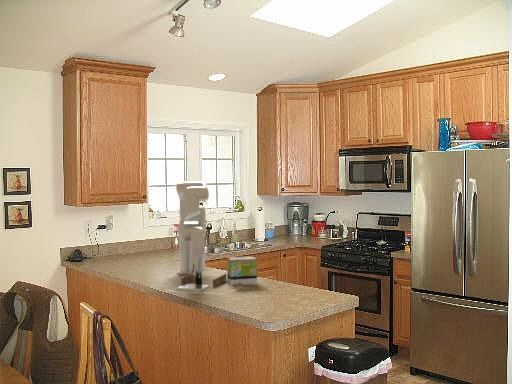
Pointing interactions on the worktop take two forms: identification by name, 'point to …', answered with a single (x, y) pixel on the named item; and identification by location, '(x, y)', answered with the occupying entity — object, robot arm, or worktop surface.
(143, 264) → the worktop surface
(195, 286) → the cover plate
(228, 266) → the tea box
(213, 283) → the walnut case
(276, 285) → the worktop surface
